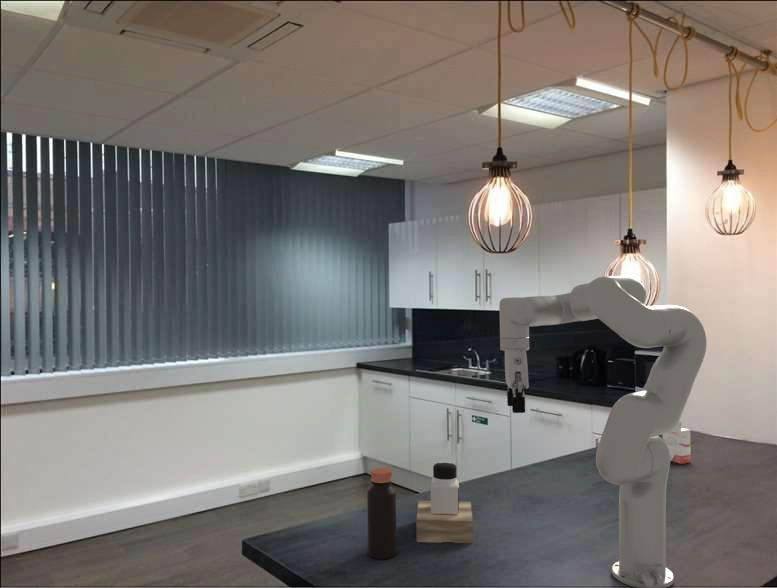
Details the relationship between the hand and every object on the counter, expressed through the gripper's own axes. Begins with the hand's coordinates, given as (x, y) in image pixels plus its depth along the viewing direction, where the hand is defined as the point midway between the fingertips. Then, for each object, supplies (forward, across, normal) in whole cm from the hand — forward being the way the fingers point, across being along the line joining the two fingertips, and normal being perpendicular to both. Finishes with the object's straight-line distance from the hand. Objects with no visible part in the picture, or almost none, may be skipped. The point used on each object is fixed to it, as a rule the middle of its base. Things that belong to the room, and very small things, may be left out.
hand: (516, 409), depth 170 cm
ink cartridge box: (+31, +64, -65) cm, 97 cm away
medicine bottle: (+26, -3, +19) cm, 32 cm away
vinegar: (+31, -18, +35) cm, 50 cm away
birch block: (+31, -3, +20) cm, 37 cm away
